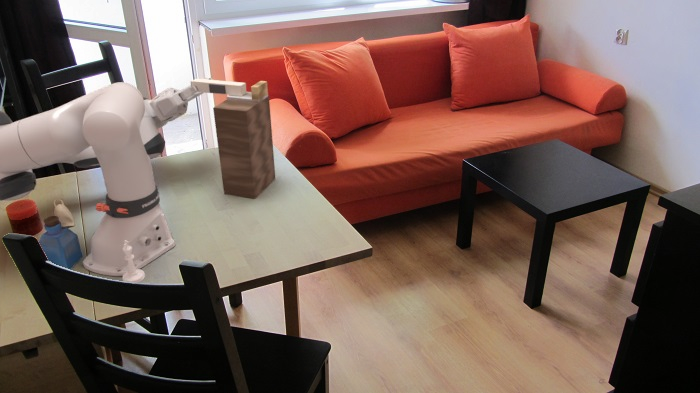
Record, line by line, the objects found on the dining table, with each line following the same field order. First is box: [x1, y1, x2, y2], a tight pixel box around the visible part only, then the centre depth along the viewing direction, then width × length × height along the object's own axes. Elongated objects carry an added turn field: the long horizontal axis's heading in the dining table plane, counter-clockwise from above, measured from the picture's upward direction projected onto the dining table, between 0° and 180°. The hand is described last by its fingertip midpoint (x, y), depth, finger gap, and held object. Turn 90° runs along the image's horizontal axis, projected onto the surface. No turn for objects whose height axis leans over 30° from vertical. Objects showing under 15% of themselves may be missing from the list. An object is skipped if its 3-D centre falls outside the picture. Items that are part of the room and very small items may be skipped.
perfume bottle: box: [38, 215, 84, 270], centre depth 132 cm, size 6×6×12 cm
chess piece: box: [121, 240, 146, 283], centre depth 127 cm, size 5×5×10 cm
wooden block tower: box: [212, 80, 276, 200], centre depth 163 cm, size 14×10×31 cm
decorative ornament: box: [53, 198, 76, 228], centre depth 152 cm, size 4×8×5 cm, turn 28°
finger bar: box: [190, 78, 248, 96], centre depth 162 cm, size 3×16×3 cm, turn 71°
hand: (204, 84), depth 163 cm, fingers open, 7 cm apart
